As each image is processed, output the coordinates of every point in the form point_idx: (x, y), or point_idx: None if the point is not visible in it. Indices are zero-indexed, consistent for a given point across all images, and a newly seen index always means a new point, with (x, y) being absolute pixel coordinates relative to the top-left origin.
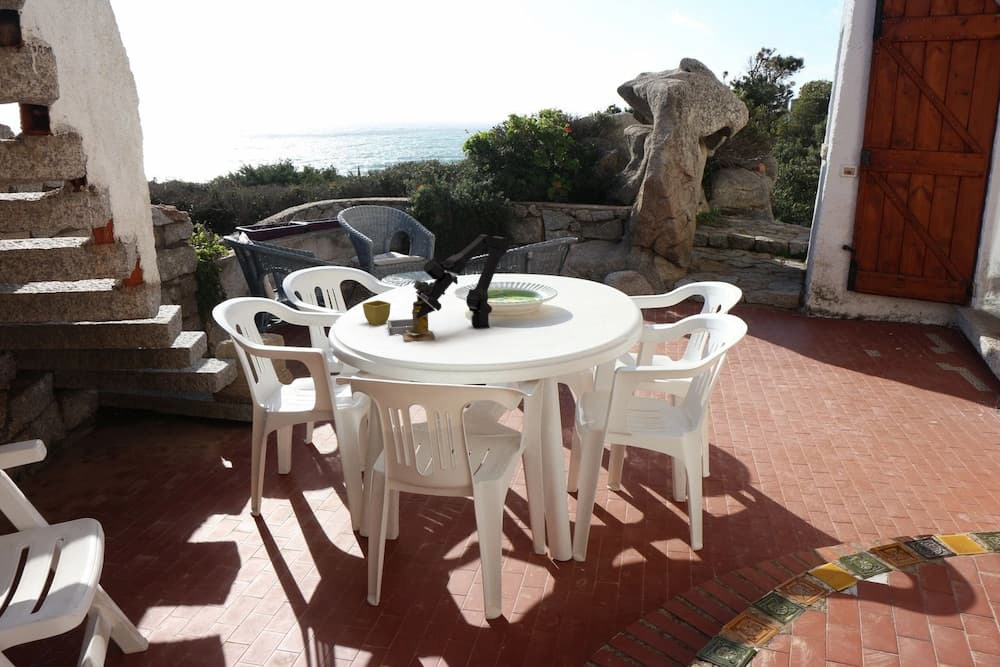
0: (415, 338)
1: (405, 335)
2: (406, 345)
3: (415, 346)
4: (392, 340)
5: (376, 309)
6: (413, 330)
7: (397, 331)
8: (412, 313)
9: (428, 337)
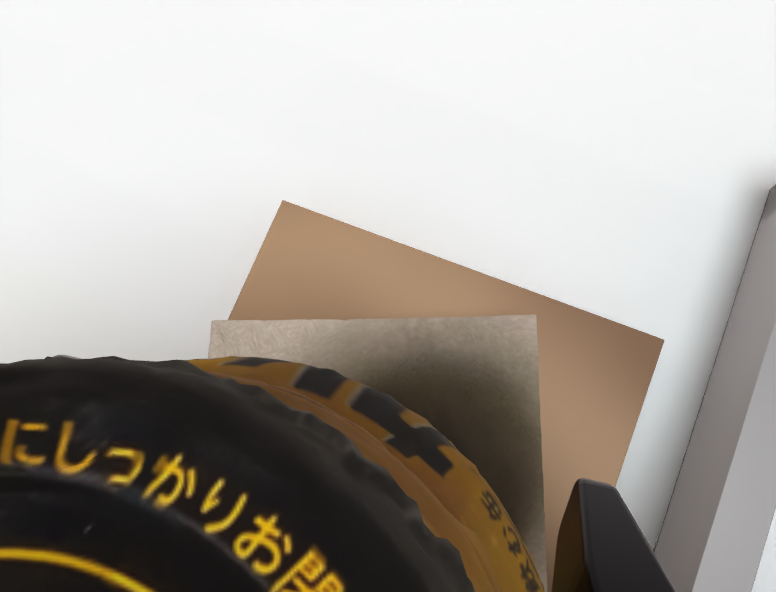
0: None
1: None
2: (142, 174)
3: (22, 250)
4: (484, 118)
5: None
6: (498, 469)
7: (761, 286)
8: (576, 494)
9: None
